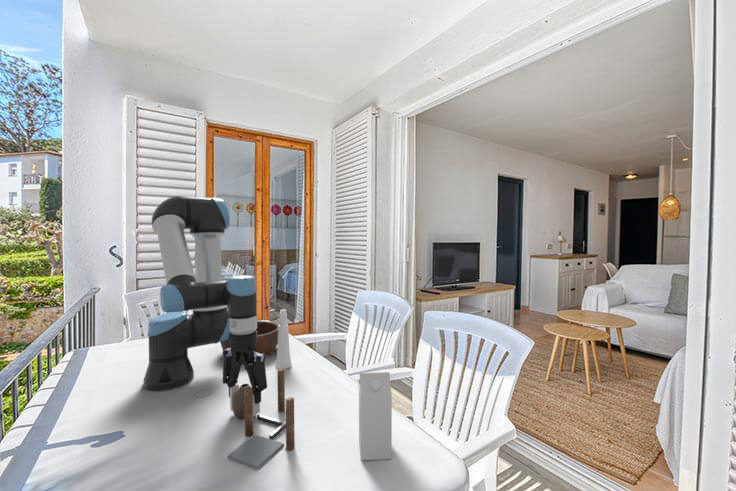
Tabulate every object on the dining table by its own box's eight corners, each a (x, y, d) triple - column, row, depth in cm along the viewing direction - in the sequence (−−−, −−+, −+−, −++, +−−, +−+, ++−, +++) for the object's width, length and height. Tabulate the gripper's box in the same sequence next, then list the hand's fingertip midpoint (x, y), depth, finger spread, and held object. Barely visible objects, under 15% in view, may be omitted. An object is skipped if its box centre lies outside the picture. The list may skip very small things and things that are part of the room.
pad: (227, 458, 79) (227, 455, 79) (255, 436, 87) (255, 434, 87) (257, 469, 75) (257, 466, 75) (283, 445, 83) (283, 443, 83)
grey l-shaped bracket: (241, 430, 90) (241, 426, 90) (258, 418, 95) (258, 414, 95) (271, 440, 86) (271, 435, 85) (287, 426, 91) (287, 422, 91)
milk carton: (358, 442, 85) (358, 367, 84) (387, 440, 85) (387, 366, 85) (360, 461, 78) (360, 379, 77) (391, 459, 78) (391, 378, 77)
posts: (243, 435, 87) (242, 389, 87) (280, 407, 101) (280, 368, 100) (291, 451, 81) (290, 402, 81) (324, 419, 95) (324, 377, 94)
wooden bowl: (257, 338, 165) (257, 318, 165) (292, 349, 151) (292, 326, 150) (207, 354, 145) (207, 330, 145) (242, 368, 130) (242, 341, 130)
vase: (249, 423, 93) (249, 392, 92) (227, 421, 94) (226, 389, 94) (262, 410, 100) (262, 381, 99) (241, 408, 101) (240, 379, 100)
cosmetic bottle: (274, 364, 134) (273, 308, 133) (289, 362, 136) (289, 307, 135) (277, 370, 128) (276, 312, 127) (293, 367, 131) (292, 310, 130)
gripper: (206, 330, 96) (209, 410, 97) (261, 339, 88) (263, 425, 89) (227, 324, 103) (229, 398, 104) (280, 331, 95) (281, 411, 96)
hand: (245, 410), depth 97 cm, fingers closed on vase, 7 cm apart
